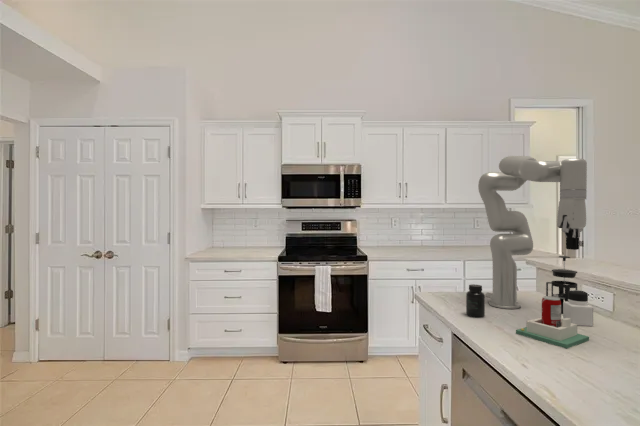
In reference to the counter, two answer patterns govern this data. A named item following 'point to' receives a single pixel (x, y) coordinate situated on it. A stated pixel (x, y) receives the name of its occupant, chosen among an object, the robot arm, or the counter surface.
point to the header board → (553, 333)
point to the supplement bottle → (475, 301)
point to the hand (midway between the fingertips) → (572, 249)
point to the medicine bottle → (578, 308)
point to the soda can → (551, 311)
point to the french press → (562, 283)
